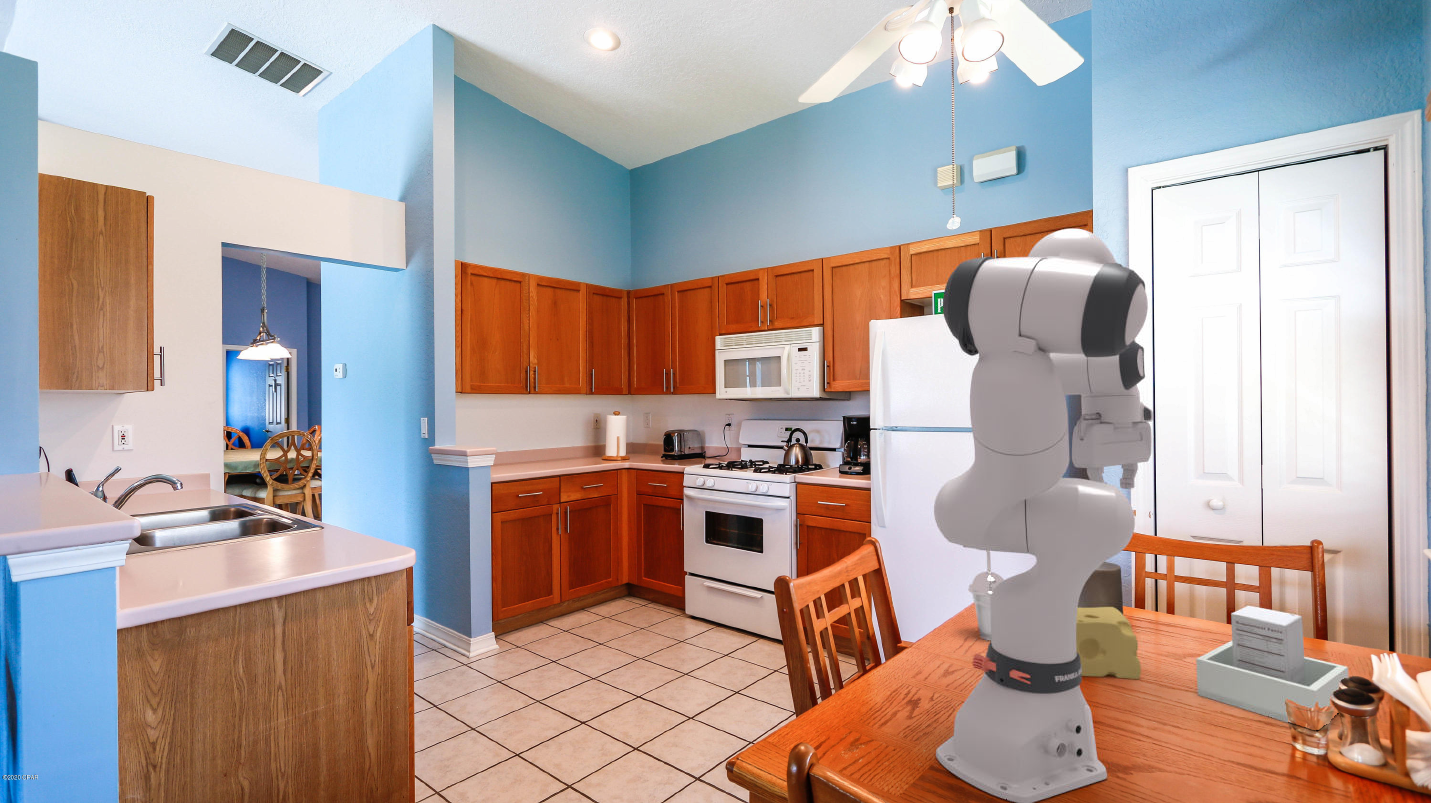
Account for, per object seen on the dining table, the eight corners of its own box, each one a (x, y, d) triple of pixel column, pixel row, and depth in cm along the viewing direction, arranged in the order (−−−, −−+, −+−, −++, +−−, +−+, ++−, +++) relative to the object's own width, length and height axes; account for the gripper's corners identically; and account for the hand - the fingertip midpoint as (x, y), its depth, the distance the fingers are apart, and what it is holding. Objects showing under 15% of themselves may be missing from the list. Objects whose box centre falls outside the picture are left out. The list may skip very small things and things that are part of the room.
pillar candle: (1135, 632, 135) (1132, 561, 136) (1097, 636, 133) (1093, 565, 134) (1099, 618, 145) (1095, 552, 145) (1062, 622, 143) (1059, 556, 143)
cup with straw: (1013, 646, 129) (1009, 548, 129) (965, 640, 133) (962, 545, 133) (1013, 632, 137) (1009, 540, 137) (968, 627, 141) (965, 538, 141)
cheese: (1141, 680, 112) (1139, 623, 112) (1075, 677, 114) (1073, 621, 114) (1116, 657, 122) (1114, 606, 122) (1056, 655, 124) (1054, 604, 124)
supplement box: (1251, 678, 108) (1247, 604, 109) (1307, 693, 102) (1304, 615, 102) (1232, 688, 105) (1229, 612, 105) (1290, 705, 98) (1286, 624, 98)
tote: (1317, 731, 93) (1315, 690, 93) (1197, 694, 106) (1196, 658, 106) (1349, 704, 101) (1348, 666, 101) (1234, 673, 114) (1233, 639, 114)
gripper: (1097, 413, 104) (1101, 497, 103) (1157, 411, 114) (1161, 487, 114) (1059, 414, 109) (1063, 494, 109) (1120, 412, 120) (1123, 484, 119)
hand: (1113, 490), depth 111 cm, fingers open, 8 cm apart
